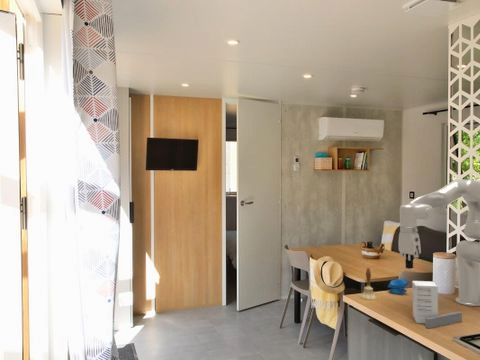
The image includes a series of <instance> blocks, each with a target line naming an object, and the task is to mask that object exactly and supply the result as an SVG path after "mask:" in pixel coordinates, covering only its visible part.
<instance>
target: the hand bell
mask: <svg viewBox="0 0 480 360" xmlns="http://www.w3.org/2000/svg"><path fill="white" fill-rule="evenodd" d="M371 273H372V271H371V270H370V268H369V267H368V268H366V271H365V277H366V286H364V288H363V293H362V294H361V295H360V298H361V299H363V300H367V301H374V300H377V296H376V295H375V293H374V288H373V287H371V278H372V274H371Z"/></svg>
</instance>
